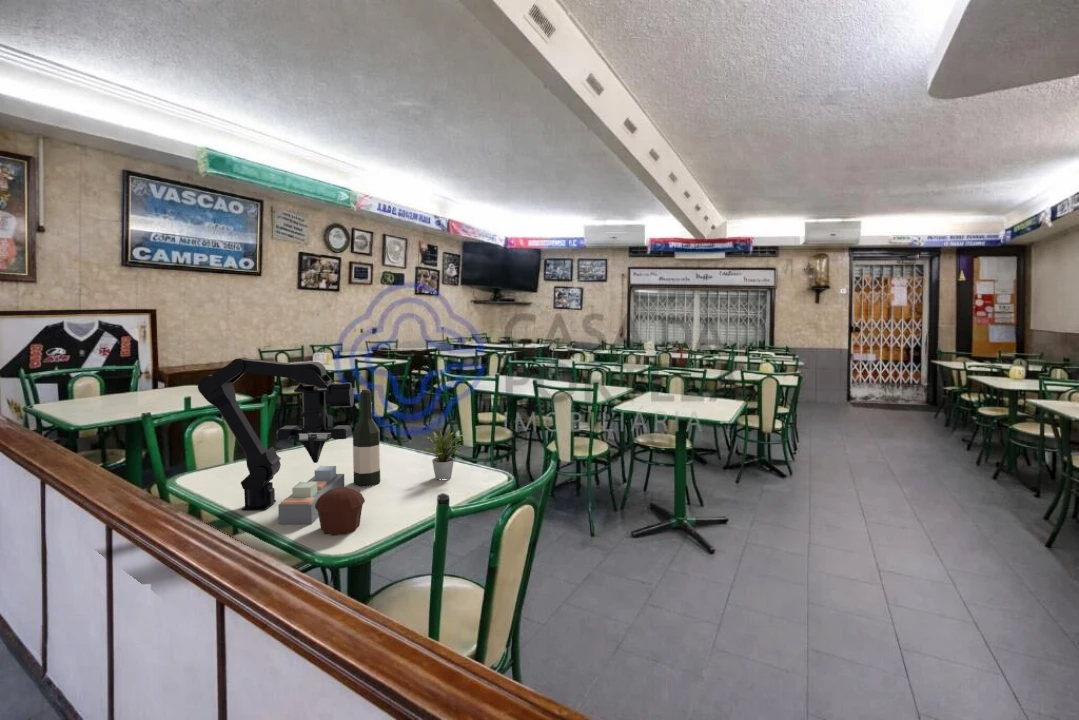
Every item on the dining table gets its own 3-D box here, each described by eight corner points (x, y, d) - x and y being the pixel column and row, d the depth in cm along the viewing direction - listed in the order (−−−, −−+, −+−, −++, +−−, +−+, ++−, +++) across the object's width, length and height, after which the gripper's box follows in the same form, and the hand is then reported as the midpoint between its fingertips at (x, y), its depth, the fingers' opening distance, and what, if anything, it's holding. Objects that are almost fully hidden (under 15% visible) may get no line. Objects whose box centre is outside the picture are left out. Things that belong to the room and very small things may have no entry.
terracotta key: (304, 498, 142) (304, 486, 142) (311, 493, 147) (310, 481, 147) (321, 498, 143) (321, 486, 142) (327, 492, 147) (327, 481, 147)
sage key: (292, 500, 135) (292, 487, 135) (300, 494, 139) (299, 482, 139) (310, 500, 135) (310, 487, 135) (317, 494, 140) (317, 482, 139)
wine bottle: (372, 487, 159) (370, 391, 156) (348, 485, 161) (346, 390, 158) (385, 479, 167) (384, 388, 165) (362, 477, 169) (360, 387, 166)
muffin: (321, 541, 121) (320, 500, 120) (310, 526, 130) (309, 487, 129) (371, 530, 128) (370, 491, 127) (358, 515, 137) (357, 479, 136)
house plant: (462, 486, 161) (462, 435, 160) (418, 486, 161) (417, 435, 160) (468, 472, 175) (468, 425, 174) (427, 472, 175) (427, 425, 174)
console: (278, 524, 131) (278, 502, 130) (317, 489, 156) (316, 472, 156) (311, 523, 131) (311, 502, 131) (344, 489, 157) (344, 471, 156)
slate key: (314, 482, 150) (314, 470, 149) (320, 477, 154) (320, 465, 154) (330, 482, 150) (330, 470, 150) (336, 477, 155) (336, 465, 154)
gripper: (357, 402, 151) (358, 454, 153) (292, 402, 150) (294, 455, 152) (344, 409, 140) (346, 465, 141) (274, 409, 139) (276, 466, 141)
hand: (315, 462), depth 144 cm, fingers closed
